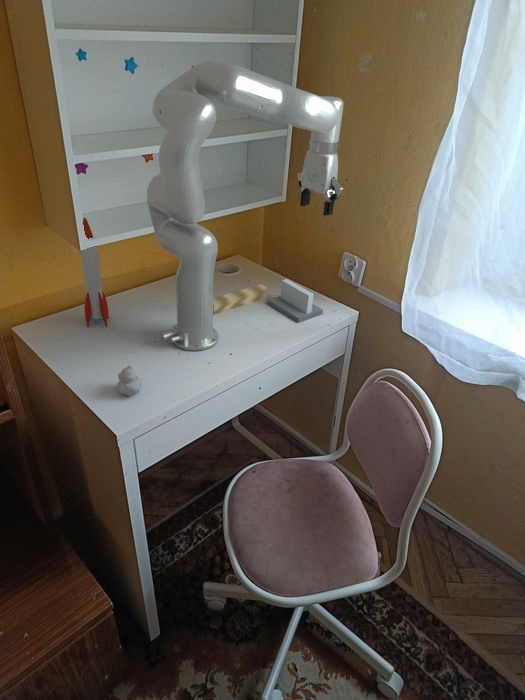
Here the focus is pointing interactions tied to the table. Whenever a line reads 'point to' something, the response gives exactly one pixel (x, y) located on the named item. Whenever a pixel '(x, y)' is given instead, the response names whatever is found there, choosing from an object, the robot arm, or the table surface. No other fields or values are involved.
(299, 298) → the fulcrum
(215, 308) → the rod
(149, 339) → the table surface
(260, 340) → the table surface
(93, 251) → the toy rocket
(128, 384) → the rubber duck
